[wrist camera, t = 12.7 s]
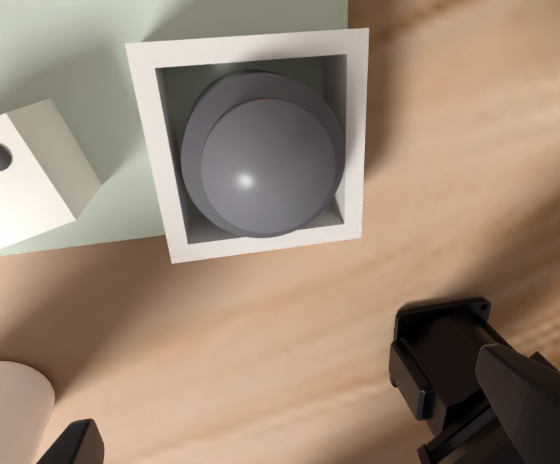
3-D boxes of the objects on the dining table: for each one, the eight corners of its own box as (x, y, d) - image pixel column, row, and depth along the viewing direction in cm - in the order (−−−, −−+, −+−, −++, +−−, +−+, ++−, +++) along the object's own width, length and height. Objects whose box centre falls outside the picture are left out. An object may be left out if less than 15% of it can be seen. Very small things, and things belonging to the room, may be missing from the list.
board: (343, -202, 14) (391, -288, 10) (340, 206, 21) (367, 238, 17) (-230, -212, 12) (-421, -325, 8) (-17, 251, 19) (-69, 299, 15)
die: (50, 98, 16) (4, 113, 12) (102, 185, 18) (75, 221, 14) (-42, 132, 16) (-117, 158, 12) (19, 216, 17) (-29, 260, 14)
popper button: (316, 63, 17) (357, 70, 12) (318, 194, 19) (352, 238, 15) (174, 74, 16) (163, 85, 11) (197, 209, 18) (194, 260, 14)
